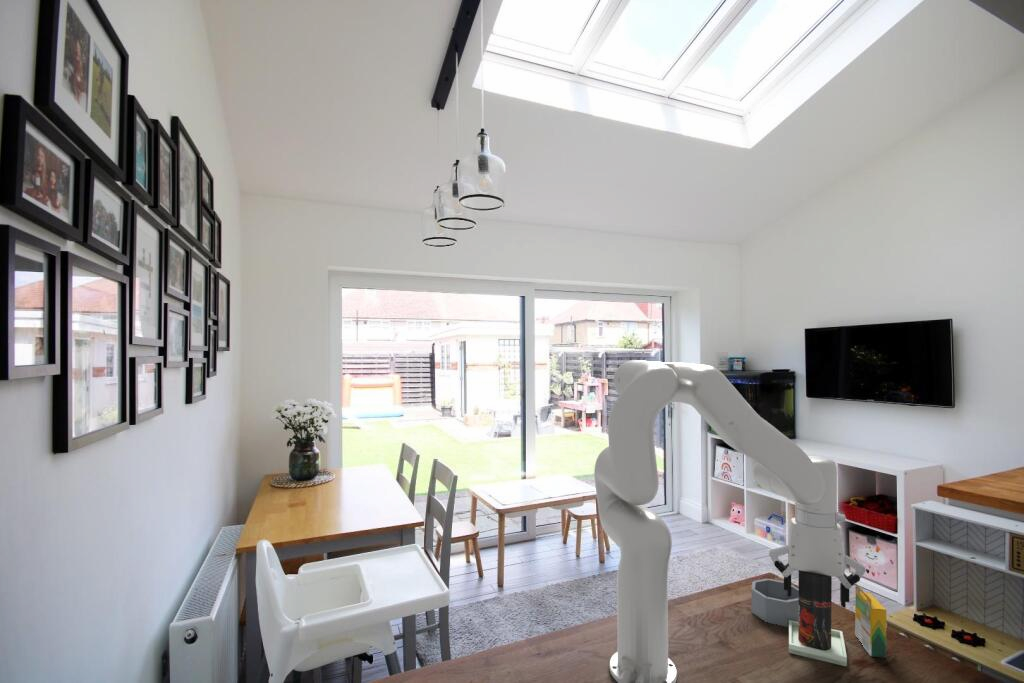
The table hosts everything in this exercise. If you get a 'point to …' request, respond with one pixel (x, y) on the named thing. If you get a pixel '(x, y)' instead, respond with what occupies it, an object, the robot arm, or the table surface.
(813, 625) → the deodorant
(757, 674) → the table surface
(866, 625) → the crayon box
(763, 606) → the grey octagonal container
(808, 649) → the tray
